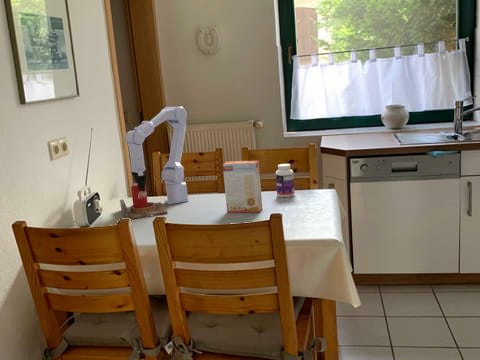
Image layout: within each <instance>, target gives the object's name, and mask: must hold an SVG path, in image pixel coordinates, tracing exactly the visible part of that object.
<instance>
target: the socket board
mask: <svg viewBox="0 0 480 360" xmlns="http://www.w3.org/2000/svg"><path fill="white" fill-rule="evenodd" d="M119 203H120V209H121V210H120V211H121V213H122V216H123V219H124V218H130V219H132V220H135V219H134V218H138V219H141V218H140V217H144V218H147V217H146V216H150V217H152V216H151V215H157V216H161V215H168V214H169V213H168V211H167V209H166V207H165V206H164V205H163V203H162V202H154V201H153V202H152V201H148V207H147V208H134V207H133V204H131V205H130V206H129V207H127V205H126V202H125V200H124V199H123V198H122V199H119Z"/></svg>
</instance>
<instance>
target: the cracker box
mask: <svg viewBox="0 0 480 360" xmlns="http://www.w3.org/2000/svg"><path fill="white" fill-rule="evenodd" d="M222 169H223V170H222V171H223V182H224V183H223V184H224V191H225V192H224V193H225V203H226V204H225V205H226V212H227V213H249V214H250V213H253V214H255V213H256V214H257V213H260V212H261V211H262V210H263V201H262V200H263V199H262V198H263V196H262V185H261V178H260V177H261V174H260V173H261V172H260V162H259V160H235V161H226V162H224V163H222Z"/></svg>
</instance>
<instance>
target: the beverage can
mask: <svg viewBox="0 0 480 360" xmlns="http://www.w3.org/2000/svg"><path fill="white" fill-rule="evenodd" d="M130 191H131V197H132V205H133V207H134V208H147V207H148V202H149V201H148V194H147V193H148V192H147V186H146V185H145V191H139V188H138V185H137V183H136V182H133V183H132V184H131V187H130Z"/></svg>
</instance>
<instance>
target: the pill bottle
mask: <svg viewBox="0 0 480 360" xmlns="http://www.w3.org/2000/svg"><path fill="white" fill-rule="evenodd" d="M294 179H295V177H294V171H293V169H291V164H290V163H280V164H278V165H277V170H276V171H275V185H276V196H277V197H279V198H282V197H286V198H291V197H290V196H292V197H294V196H295V180H294Z"/></svg>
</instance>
